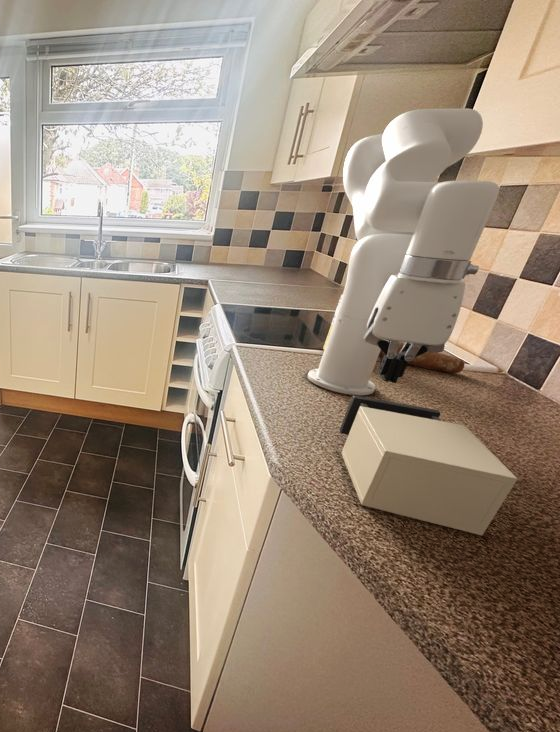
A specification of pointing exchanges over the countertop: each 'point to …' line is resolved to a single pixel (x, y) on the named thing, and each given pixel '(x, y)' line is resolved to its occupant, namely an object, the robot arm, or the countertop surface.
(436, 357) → the bread
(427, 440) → the cream box with lid
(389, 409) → the black picture frame
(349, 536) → the countertop surface
